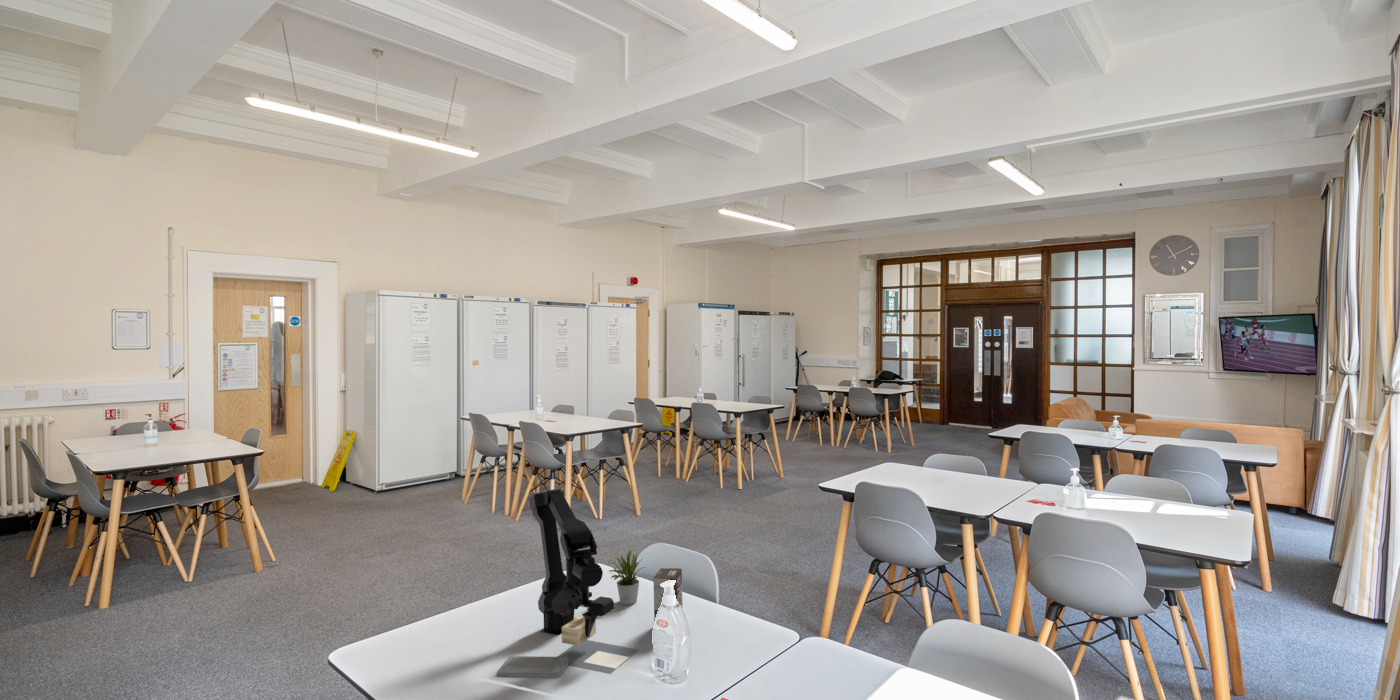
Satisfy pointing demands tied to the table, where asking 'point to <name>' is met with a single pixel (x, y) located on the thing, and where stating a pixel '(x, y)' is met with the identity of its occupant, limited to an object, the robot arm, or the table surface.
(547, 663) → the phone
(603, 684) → the table surface
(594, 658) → the mat
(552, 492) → the robot arm
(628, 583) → the house plant
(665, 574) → the coffee box
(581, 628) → the cream block with stripe
